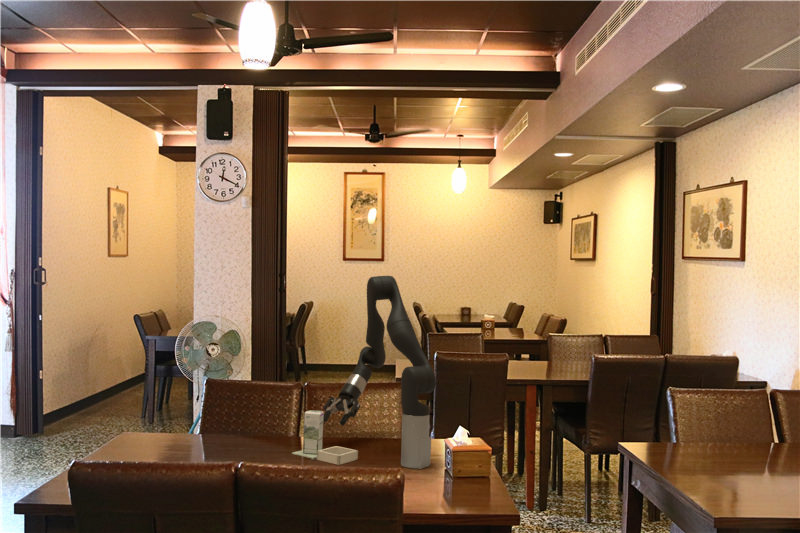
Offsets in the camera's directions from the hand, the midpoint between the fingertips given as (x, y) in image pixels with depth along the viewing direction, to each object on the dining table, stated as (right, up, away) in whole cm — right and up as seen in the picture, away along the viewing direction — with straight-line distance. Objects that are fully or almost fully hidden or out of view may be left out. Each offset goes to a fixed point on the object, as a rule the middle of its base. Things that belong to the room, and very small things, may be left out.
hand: (332, 422), depth 227 cm
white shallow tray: (-1, -9, -13) cm, 15 cm away
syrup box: (-6, -9, -9) cm, 14 cm away
